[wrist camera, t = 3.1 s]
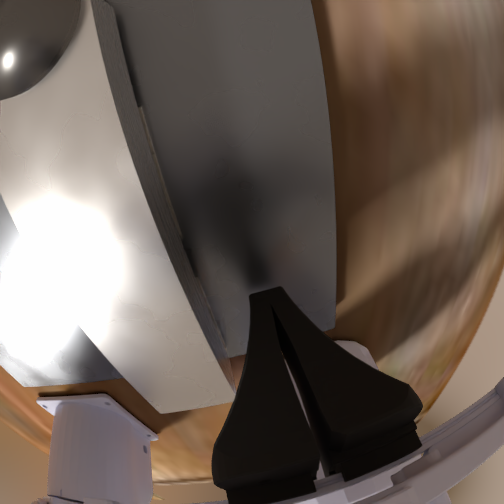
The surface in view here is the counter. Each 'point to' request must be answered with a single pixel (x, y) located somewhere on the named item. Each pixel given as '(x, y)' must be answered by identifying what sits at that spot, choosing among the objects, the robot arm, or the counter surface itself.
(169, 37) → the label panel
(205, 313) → the white long bar
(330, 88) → the counter surface
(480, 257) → the counter surface
